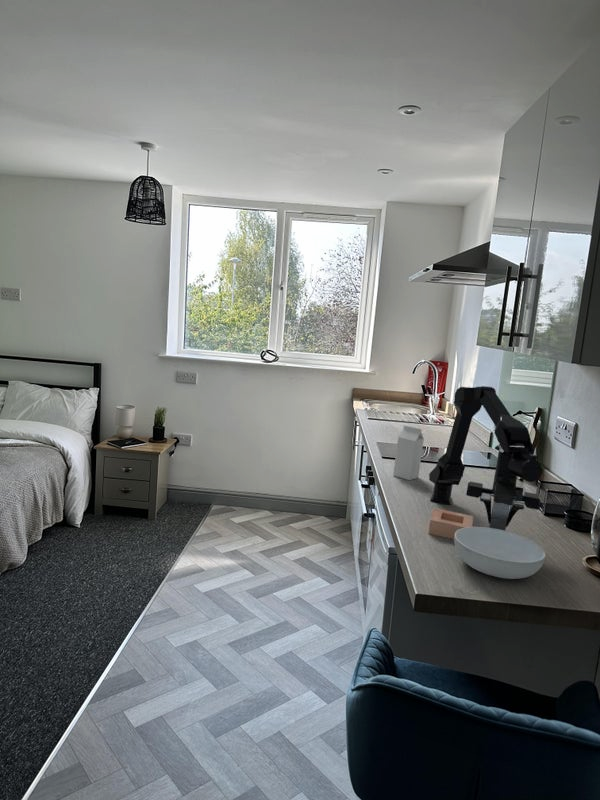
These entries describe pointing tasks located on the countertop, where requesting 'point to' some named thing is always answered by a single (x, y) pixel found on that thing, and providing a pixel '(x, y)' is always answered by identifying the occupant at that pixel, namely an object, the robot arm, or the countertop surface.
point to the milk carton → (408, 453)
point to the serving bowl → (499, 552)
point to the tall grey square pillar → (499, 516)
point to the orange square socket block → (448, 522)
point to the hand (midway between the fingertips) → (497, 525)
